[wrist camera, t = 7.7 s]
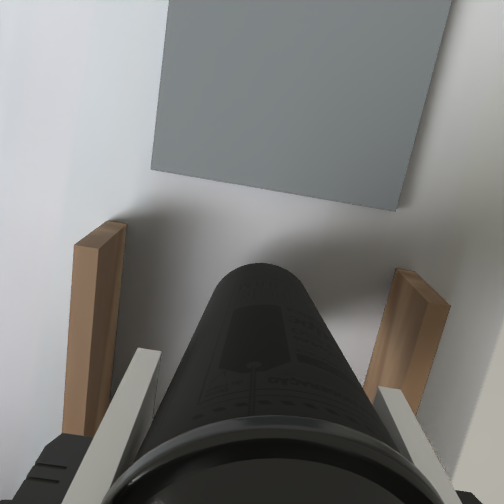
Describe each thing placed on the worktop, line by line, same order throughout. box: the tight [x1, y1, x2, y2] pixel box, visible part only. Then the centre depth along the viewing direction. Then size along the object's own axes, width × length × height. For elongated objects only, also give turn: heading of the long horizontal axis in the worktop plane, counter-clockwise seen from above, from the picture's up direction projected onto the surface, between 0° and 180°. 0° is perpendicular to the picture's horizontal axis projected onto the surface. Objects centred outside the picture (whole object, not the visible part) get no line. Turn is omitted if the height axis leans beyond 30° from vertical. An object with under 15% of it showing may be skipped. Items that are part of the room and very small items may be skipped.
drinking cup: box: [101, 263, 444, 504], centre depth 13 cm, size 8×8×20 cm
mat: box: [151, 0, 452, 212], centre depth 21 cm, size 12×12×1 cm
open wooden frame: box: [62, 221, 451, 437], centre depth 23 cm, size 16×15×4 cm
